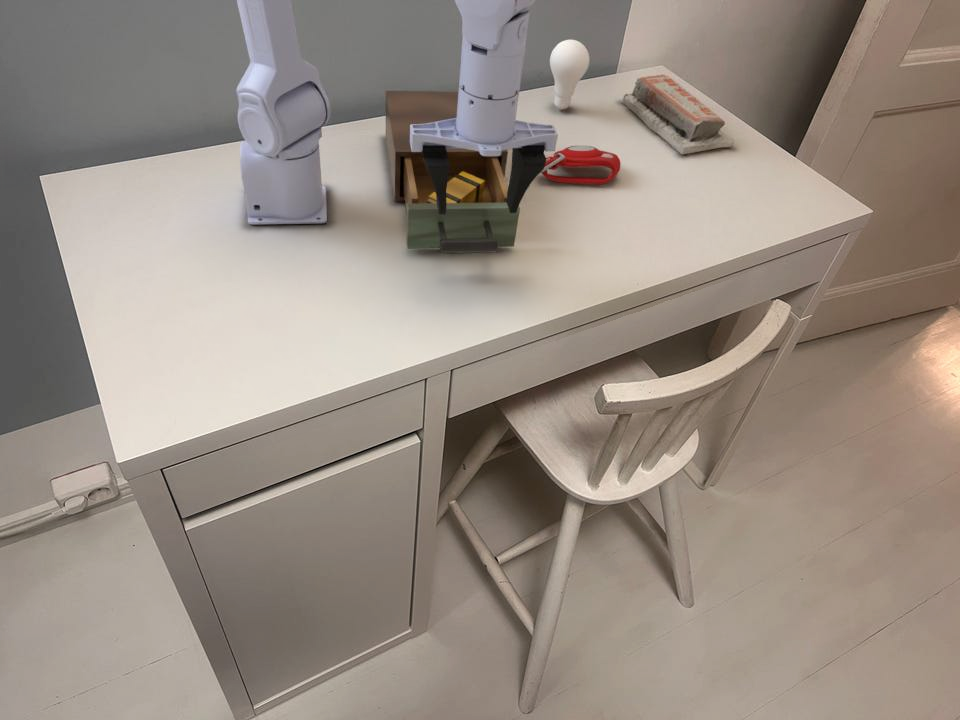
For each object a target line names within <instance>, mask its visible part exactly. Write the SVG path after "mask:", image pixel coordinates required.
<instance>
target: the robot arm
mask: <svg viewBox="0 0 960 720" xmlns="http://www.w3.org/2000/svg"><path fill="white" fill-rule="evenodd" d="M536 1H537V0H454V3H455V5H456V7H457V9H458V12H459V13H460V15H461V21H462V23H461V24H462V25H461V27H462V28H461V35H462V40H461V54H460V67H459V80H458V81H459V82H458V91H457V92H458V105H457V118H453V119H448V120H442V121H437V122H432V123H426V124H411V125H410V146H411V151H412V152H422V156H423V161H424V164H425V167H426V169H427V171H428V173H429V175H430V177H431V180H432V182H433V185H434V188H435V191H436V199H437V208H438V212H439V214H440V215H441V214H446V189H447V181H448V175H449V169H450V166H449V163H448V153H447V150H446V149H447V148H463V149H469V150H474V151H479V152H480V154H481V155H482V156H500V155H501V151H503V150H507V151H508V150H511V166H510V176H509V181H508V185H507V187H508V192H507V205H508V208H509V211H510V213H516V212H517V209H518V207H520V204H521V202H522V200H523V198H524V195H525V194H526V192H527V190H528V189H529V187H530V186H531V184H532V183H533V182H534V180H535V179H536V178H537V177H538V176H539V175H540V173H541V171H542V170H543V169H544V167H545V164H546V158H547V157H546V154H545V152H548V153H549V152H556V147H557V141H558V137H559V134H558V131H557V129H556V127H555V126H554V124H546V123H545V124H543V123H535V122H529V121H523V120H518V119H517V118H516V117H517V112H518V111H517V110H518V105H519V104H518V103H519V97H520V90H521V82H522V75H523V74H522V73H523V67H524V59H525V52H526V45H527V37H528V36H527V35H528V30H529V29H528V28H529V22H530V15H531V10H528V9H529V8H531V6H532V5H533V4H535V2H536ZM292 3H293V2H292V0H236V4H237V8H238V12H239V17H240V22H241V26H242V31H243V36H244V39H245V44H246V48H247V53H248V58H249V65H248V67H247V68H246V70H245V72H244V74H243V75H242V78H241V79H240V81H239V83H238V85H237V87H236V90H235V92H236V95H237V99H238V109H237V124H238V127H239V131H240V134H241V135H242V138H243V139H244V140H242V141H240V145H239V163H240V164H239V165H240V175H241V181H242V187H243V197H244V200H245V201H244V202H245V207H246V212H247V223H248V224H249V225H300V224H301V225H302V224H304V225H305V224H326V223H327V222H328V211H327V209H328V208H327V187H326V186H325V185H323V181H322V180H323V179H322V167H321V165H322V164H321V154H320V152H321V151H320V139H321V138H322V137H323V129H322V128H323V127H325V126H327V124H328V123H329V121H330V118H331V114H332V113H331V112H332V111H331V104H330V101H329V98H328V95H327V93H326V92H325V90H324V88H323V85H322V83H321V79H320V74H319V69H318V68H317V67H315V66H314V65H313V64H311V63H310V62H308V61H306V60H305V59H304V58H302V55H301V49H300V43H299V37H298V33H297V27H296V22H295V21H296V20H295V15H294V9H293V5H292Z"/></svg>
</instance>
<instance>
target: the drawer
mask: <svg viewBox="0 0 960 720" xmlns="http://www.w3.org/2000/svg"><path fill="white" fill-rule="evenodd" d="M448 163H449V166H450V169H449V175H448V181H447V182H449V181H450V180H451V179H453V178H454V175H456V174H460V173H461V172H462V171H464V172H466V173H468V174H471V175H473V176H475V177H478V178H480V179H482V180H484V181H485V183H484V192H483V201H482V203H446V214H441V215H440V214H439V212H438V208H437V203H427V200H428V197H429V196H430V195H431V194H432V193H434V190H435V188H434V185H433V182H432V180H431V177H430V175H429V173H428V171H427V169H426V167H425V164H424V161H423V156H402V162H401V180H402V186H403V192H404V198H405V202H404V203H405V205H404V206H405V210H406V211H405V212H406V243H405V244H406V249H407V250H427V249H428V250H430V249H433V250H434V249H439V250H440V253H442V254H453V253H454V254H457V253H458V254H459V253H495V252H497V253H498V250H499V248H513V247H515V242H516V236H517V230H518V229H517V228H518V223H519V217H520V211H521V208H520V207H521V206H519V207H518V209H517V212H516V213H510V211H509V208H508V205H507V192H508V184H507V182H506V179H505V177H504V175H503V172H502V170H501V167H500V164H499V161H498V158H497V156H448Z"/></svg>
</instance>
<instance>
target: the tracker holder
mask: <svg viewBox="0 0 960 720" xmlns="http://www.w3.org/2000/svg"><path fill="white" fill-rule="evenodd" d="M559 166H560V167H562V168H591V167H605V168H607V169H610V170H611V172H610V174H609V176H606V177H604V176H603V177H599V176H598V177H597V176H594V177H593V176H571V175H569V176H567V175H565V176H564V175H563V176H562V175H555V174H551V173H548V170H551V171H553V170H554V171H555V170H557V169H558V167H559ZM620 170H621V160H620V157H619V155H617V154H615V153H613V152H610V151H605V150H600V149H598V148H597V147H594V146H591V145H571V146H568V147H565V148H564V149H561V150H558V151H554V153H553V156H547V157H546V164H545V167H544V169H543V170H542V171H541V172H540V173H541V174H542V175H543V176H544V177H545V178H546V179H548V180H551V181H553V182H558V183H564V184H565V183H566V184H584V185H603V184H606V183H608V182H610V181H611V180H613V179H614V178H615V177H616V176H618V173H619V172H620Z"/></svg>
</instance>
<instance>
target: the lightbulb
mask: <svg viewBox="0 0 960 720" xmlns="http://www.w3.org/2000/svg"><path fill="white" fill-rule="evenodd" d="M549 66H550V71H551V73H552V76H553V80H554V88H553V92H554V100H553V105H554V106H555V107H556V108H557V109H558V110H560V111H563V110H565V109H568V108H569V107H570V103H571V100H572V96H574V92H575V90H576V88H577V85H578V83H579V81H580V80H581V79H582V78H583V76H584V75H585V74H586V73H587V71H588V69H589V66H590V54H589V51H588V49H587V48H586V46H585V45H584V44H583V43H582V42H581V41H578V40H576V39H565V40H562V41H560V42H558V44H556V46H555V47H553V49H552V51H551V54H550V56H549Z"/></svg>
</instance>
